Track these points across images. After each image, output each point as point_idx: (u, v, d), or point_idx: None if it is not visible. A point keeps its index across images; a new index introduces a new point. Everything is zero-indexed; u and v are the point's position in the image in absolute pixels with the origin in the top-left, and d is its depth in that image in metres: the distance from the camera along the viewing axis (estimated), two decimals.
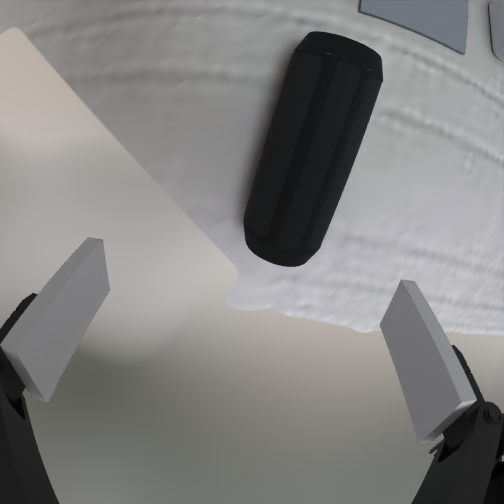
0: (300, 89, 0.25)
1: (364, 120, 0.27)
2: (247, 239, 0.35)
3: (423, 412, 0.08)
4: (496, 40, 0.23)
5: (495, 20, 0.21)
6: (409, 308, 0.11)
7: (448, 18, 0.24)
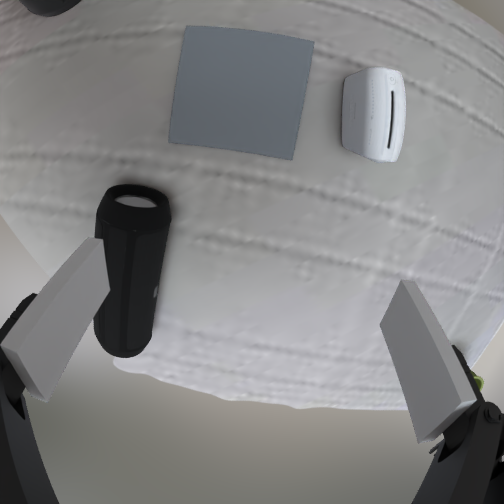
0: None
1: (145, 266, 0.36)
2: None
3: (423, 412, 0.08)
4: (342, 130, 0.34)
5: (344, 104, 0.32)
6: (409, 307, 0.11)
7: (271, 121, 0.35)
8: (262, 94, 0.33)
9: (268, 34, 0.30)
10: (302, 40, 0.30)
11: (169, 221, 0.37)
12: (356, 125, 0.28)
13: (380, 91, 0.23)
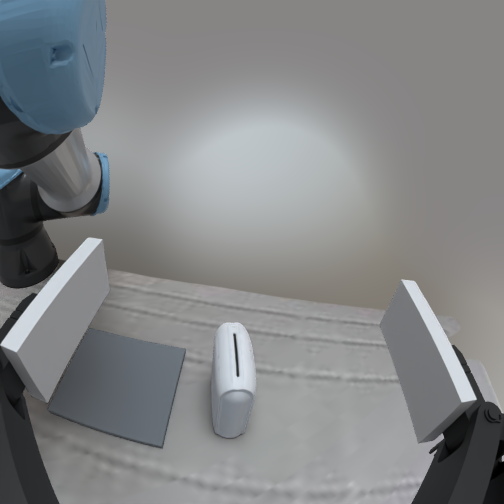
0: None
1: None
2: None
3: (423, 412, 0.08)
4: (212, 415, 0.33)
5: None
6: (409, 308, 0.11)
7: (142, 410, 0.33)
8: (136, 387, 0.35)
9: (148, 343, 0.42)
10: (175, 348, 0.42)
11: None
12: (213, 384, 0.31)
13: (223, 335, 0.32)
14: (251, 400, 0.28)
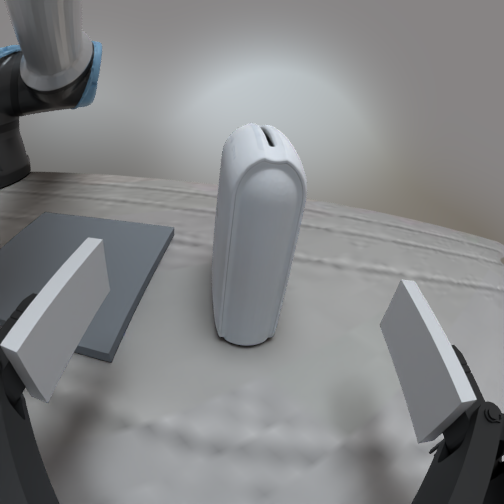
0: None
1: None
2: None
3: (423, 412, 0.08)
4: (213, 300, 0.19)
5: None
6: (409, 307, 0.11)
7: None
8: None
9: (120, 221, 0.29)
10: (159, 226, 0.29)
11: None
12: (219, 206, 0.17)
13: (239, 127, 0.18)
14: (299, 208, 0.15)
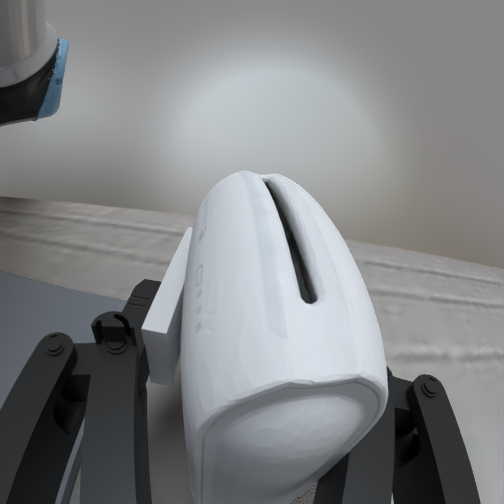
0: None
1: None
2: None
3: None
4: None
5: None
6: None
7: None
8: None
9: (69, 291, 0.19)
10: (119, 301, 0.19)
11: None
12: None
13: (226, 181, 0.09)
14: (358, 434, 0.05)
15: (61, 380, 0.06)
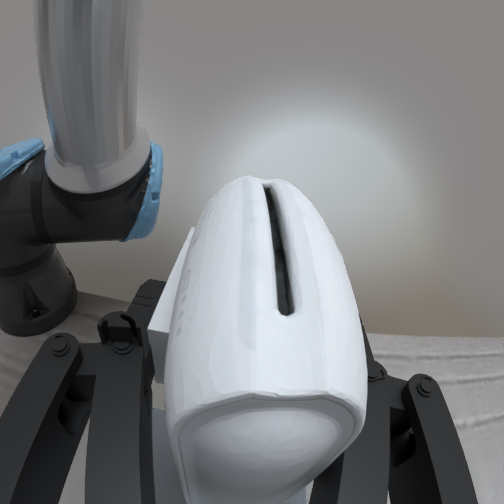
0: None
1: None
2: None
3: None
4: None
5: None
6: None
7: None
8: None
9: None
10: None
11: None
12: None
13: (228, 186, 0.09)
14: (338, 448, 0.05)
15: (66, 381, 0.06)
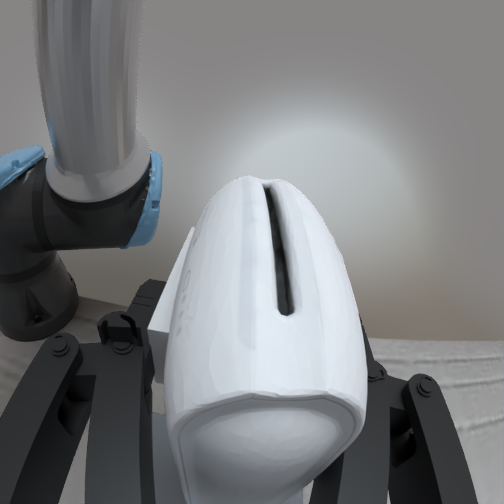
0: None
1: None
2: None
3: None
4: None
5: None
6: None
7: None
8: None
9: None
10: None
11: None
12: None
13: (228, 186, 0.09)
14: (338, 448, 0.05)
15: (66, 381, 0.06)
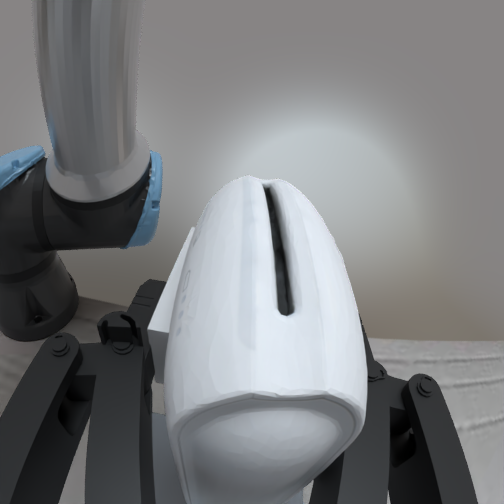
0: None
1: None
2: None
3: None
4: None
5: None
6: None
7: None
8: None
9: None
10: None
11: None
12: None
13: (227, 186, 0.09)
14: (338, 448, 0.05)
15: (66, 381, 0.06)
